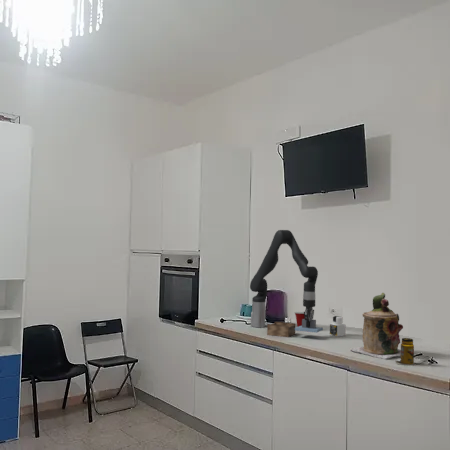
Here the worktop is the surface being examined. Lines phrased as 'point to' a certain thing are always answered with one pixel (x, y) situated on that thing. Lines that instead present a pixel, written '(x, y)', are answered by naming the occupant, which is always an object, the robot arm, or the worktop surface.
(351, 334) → the worktop surface
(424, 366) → the worktop surface
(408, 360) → the condiment
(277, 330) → the wooden box
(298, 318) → the plastic cup
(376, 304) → the cookie jar
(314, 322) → the cover plate
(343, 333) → the medicine bottle
